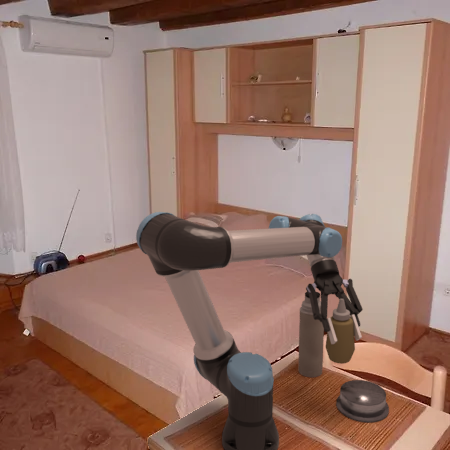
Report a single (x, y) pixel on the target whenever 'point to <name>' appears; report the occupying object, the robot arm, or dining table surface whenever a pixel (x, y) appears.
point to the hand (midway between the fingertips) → (346, 340)
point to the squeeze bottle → (341, 335)
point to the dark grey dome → (362, 401)
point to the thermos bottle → (310, 340)
